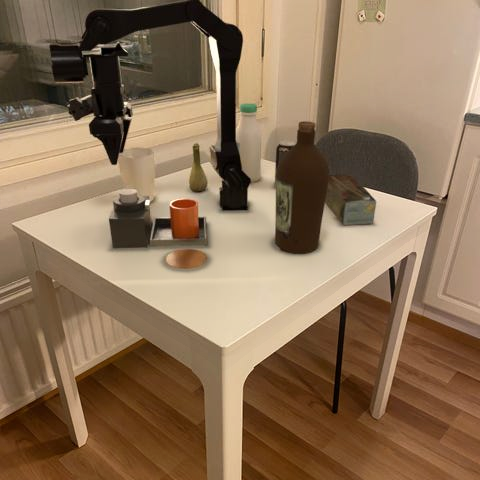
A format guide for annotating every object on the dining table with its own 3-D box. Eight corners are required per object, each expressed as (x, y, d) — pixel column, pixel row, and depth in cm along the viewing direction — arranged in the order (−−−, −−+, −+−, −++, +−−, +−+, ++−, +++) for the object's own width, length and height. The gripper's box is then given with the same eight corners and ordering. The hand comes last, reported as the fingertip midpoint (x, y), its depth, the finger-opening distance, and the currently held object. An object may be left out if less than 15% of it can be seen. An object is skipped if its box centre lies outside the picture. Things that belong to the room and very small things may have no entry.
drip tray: (206, 224, 113) (206, 216, 112) (207, 247, 104) (206, 238, 102) (154, 225, 113) (153, 217, 111) (150, 248, 103) (149, 239, 102)
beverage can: (288, 181, 139) (291, 138, 132) (298, 188, 135) (302, 143, 128) (270, 184, 137) (273, 140, 130) (280, 191, 133) (283, 146, 126)
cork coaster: (207, 250, 102) (207, 248, 102) (207, 270, 95) (207, 267, 95) (167, 251, 101) (166, 249, 101) (164, 270, 95) (164, 268, 94)
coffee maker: (151, 224, 113) (148, 188, 108) (146, 249, 102) (142, 210, 97) (121, 224, 112) (116, 189, 108) (113, 249, 102) (107, 211, 97)
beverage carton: (341, 226, 114) (344, 199, 110) (319, 197, 129) (322, 172, 126) (373, 224, 114) (378, 197, 111) (348, 196, 130) (352, 171, 126)
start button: (138, 197, 104) (137, 188, 103) (136, 204, 101) (135, 194, 100) (121, 198, 104) (120, 188, 103) (119, 204, 101) (118, 194, 100)
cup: (161, 194, 129) (158, 148, 122) (153, 206, 122) (149, 158, 115) (128, 192, 130) (123, 146, 123) (118, 205, 122) (112, 157, 116)
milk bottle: (263, 176, 143) (266, 103, 132) (255, 184, 137) (257, 108, 126) (238, 173, 145) (239, 100, 134) (229, 181, 139) (229, 106, 128)
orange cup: (198, 228, 111) (197, 198, 107) (198, 239, 106) (197, 208, 102) (172, 228, 110) (170, 198, 106) (171, 239, 105) (169, 209, 101)
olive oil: (306, 231, 111) (318, 115, 97) (330, 251, 103) (346, 127, 89) (264, 238, 108) (269, 118, 93) (284, 258, 100) (294, 131, 85)
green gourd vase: (194, 185, 135) (193, 141, 129) (211, 187, 134) (210, 142, 127) (186, 192, 131) (183, 146, 124) (202, 194, 130) (201, 148, 123)
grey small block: (150, 208, 105) (149, 200, 104) (149, 213, 103) (148, 204, 102) (146, 208, 105) (146, 200, 104) (145, 213, 103) (144, 204, 102)
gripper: (77, 74, 106) (89, 147, 115) (55, 89, 91) (71, 172, 100) (128, 74, 107) (136, 147, 116) (115, 89, 92) (125, 171, 101)
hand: (117, 158), depth 108 cm, fingers open, 9 cm apart
